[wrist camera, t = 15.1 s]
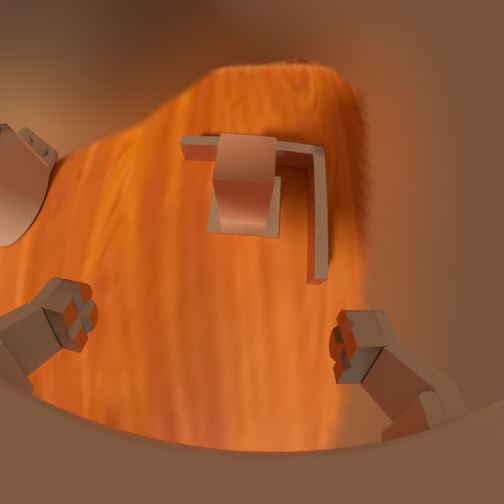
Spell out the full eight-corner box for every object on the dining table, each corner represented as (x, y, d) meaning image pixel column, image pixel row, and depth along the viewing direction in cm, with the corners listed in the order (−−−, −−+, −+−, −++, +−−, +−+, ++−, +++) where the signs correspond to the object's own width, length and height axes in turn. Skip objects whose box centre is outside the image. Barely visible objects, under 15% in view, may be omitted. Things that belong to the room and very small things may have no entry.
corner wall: (318, 284, 26) (327, 279, 23) (163, 271, 26) (154, 264, 23) (317, 162, 30) (323, 146, 27) (187, 151, 30) (182, 135, 27)
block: (220, 221, 27) (212, 179, 19) (225, 182, 28) (220, 133, 21) (265, 224, 27) (274, 184, 19) (268, 185, 28) (276, 137, 21)
